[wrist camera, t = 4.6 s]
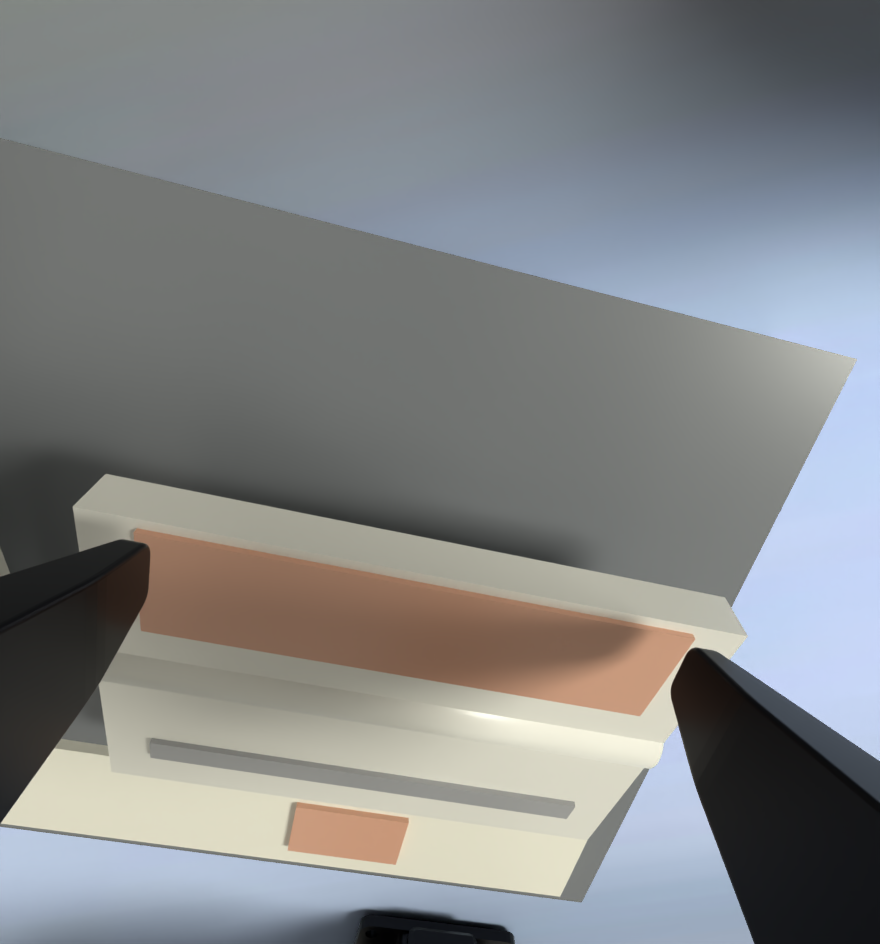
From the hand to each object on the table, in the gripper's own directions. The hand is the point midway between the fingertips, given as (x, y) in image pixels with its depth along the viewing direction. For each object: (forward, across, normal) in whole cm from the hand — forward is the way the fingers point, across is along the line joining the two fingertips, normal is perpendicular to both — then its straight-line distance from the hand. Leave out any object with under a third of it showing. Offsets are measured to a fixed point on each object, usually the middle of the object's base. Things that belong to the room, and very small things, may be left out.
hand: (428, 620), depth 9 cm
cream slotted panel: (+2, 0, +4) cm, 4 cm away
